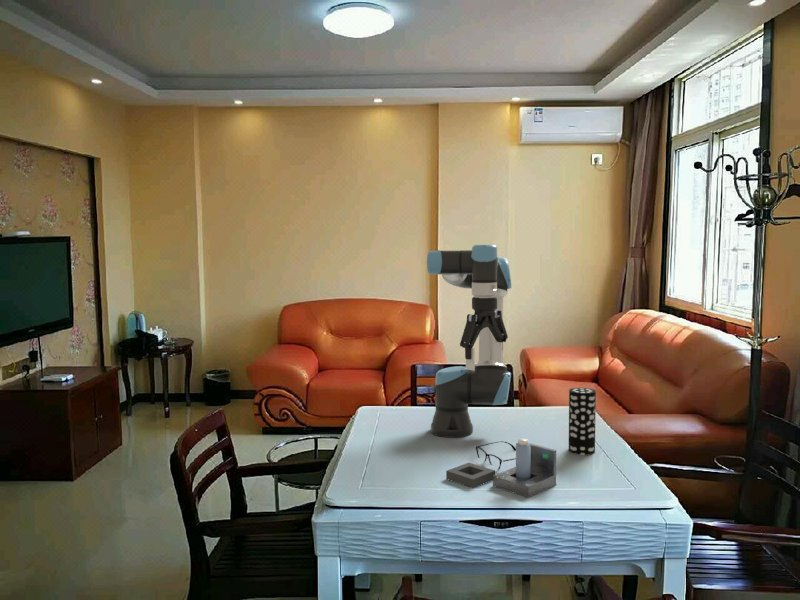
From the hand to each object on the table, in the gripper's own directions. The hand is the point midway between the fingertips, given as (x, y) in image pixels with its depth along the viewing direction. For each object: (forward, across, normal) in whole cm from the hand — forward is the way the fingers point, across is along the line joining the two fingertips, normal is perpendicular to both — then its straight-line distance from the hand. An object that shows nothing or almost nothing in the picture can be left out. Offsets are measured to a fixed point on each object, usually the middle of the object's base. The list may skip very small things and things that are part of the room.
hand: (484, 366), depth 201 cm
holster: (+30, -13, -5) cm, 33 cm away
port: (+30, -7, -19) cm, 36 cm away
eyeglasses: (+31, +9, -2) cm, 33 cm away
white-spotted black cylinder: (+31, +32, -15) cm, 47 cm away
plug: (+30, -7, -19) cm, 36 cm away
